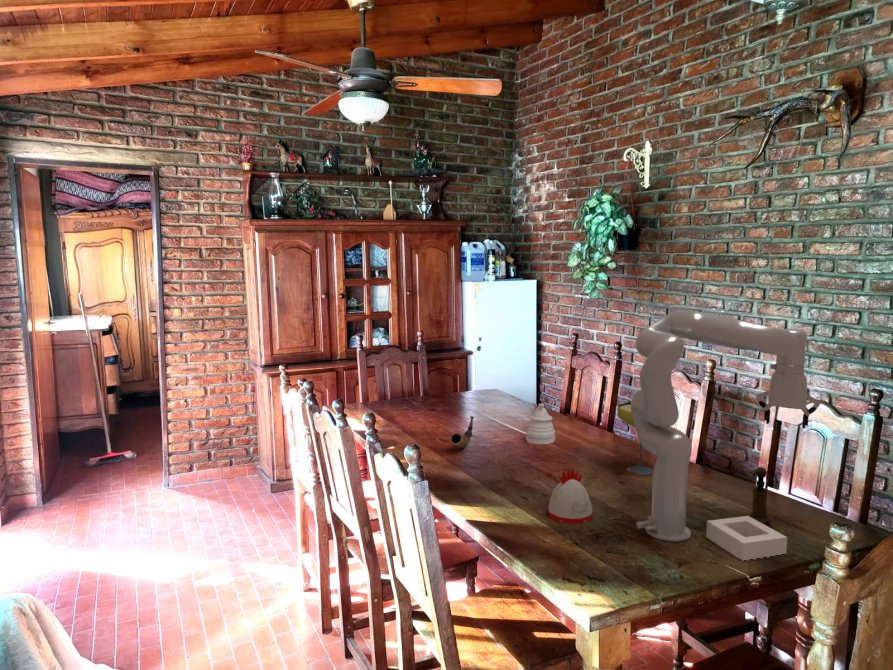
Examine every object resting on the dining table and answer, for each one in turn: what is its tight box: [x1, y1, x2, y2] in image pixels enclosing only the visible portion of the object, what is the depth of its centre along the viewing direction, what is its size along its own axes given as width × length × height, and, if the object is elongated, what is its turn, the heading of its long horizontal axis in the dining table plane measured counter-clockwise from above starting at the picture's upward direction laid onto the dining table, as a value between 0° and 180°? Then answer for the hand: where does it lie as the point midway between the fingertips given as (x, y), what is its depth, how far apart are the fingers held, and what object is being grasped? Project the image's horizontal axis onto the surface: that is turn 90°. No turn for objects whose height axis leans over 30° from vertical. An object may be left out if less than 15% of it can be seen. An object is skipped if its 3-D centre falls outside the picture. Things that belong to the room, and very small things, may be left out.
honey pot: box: [525, 403, 556, 444], centre depth 276 cm, size 13×13×18 cm
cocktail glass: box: [617, 402, 654, 474], centre depth 236 cm, size 18×18×25 cm
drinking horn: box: [449, 415, 475, 450], centre depth 273 cm, size 5×29×10 cm, turn 163°
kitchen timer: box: [547, 468, 593, 525], centre depth 196 cm, size 14×14×15 cm
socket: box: [705, 515, 788, 562], centre depth 174 cm, size 14×15×5 cm
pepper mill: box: [746, 466, 772, 528], centre depth 188 cm, size 7×6×18 cm
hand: (785, 425), depth 189 cm, fingers open, 9 cm apart
